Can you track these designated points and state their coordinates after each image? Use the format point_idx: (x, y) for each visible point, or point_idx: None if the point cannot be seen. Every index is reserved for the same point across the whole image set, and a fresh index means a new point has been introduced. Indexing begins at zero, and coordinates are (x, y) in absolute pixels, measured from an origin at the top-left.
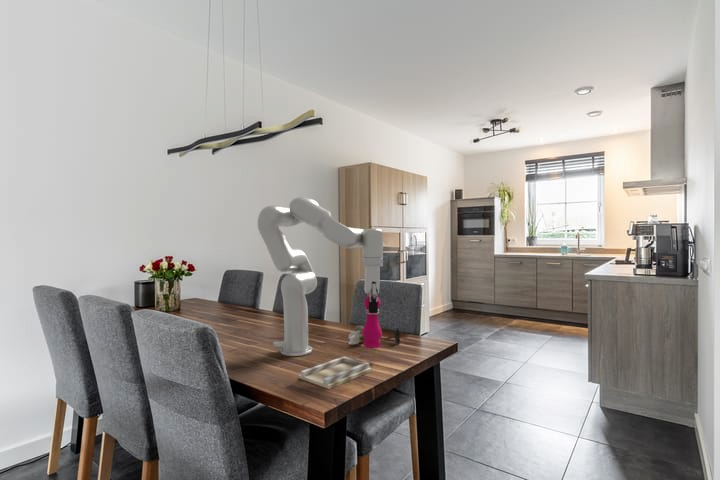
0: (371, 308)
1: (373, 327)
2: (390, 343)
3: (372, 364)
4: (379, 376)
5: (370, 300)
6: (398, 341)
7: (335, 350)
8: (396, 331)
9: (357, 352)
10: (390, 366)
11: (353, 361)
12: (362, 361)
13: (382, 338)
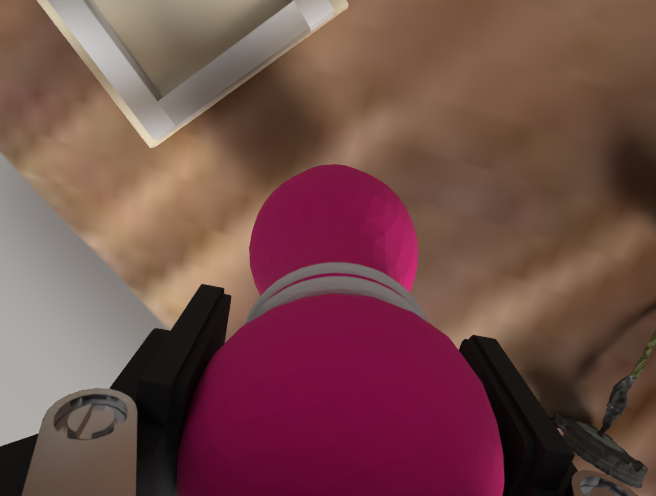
0: (144, 343)
1: (260, 269)
2: (586, 384)
3: (263, 182)
4: (70, 162)
5: (43, 424)
6: (555, 426)
7: (615, 21)
8: (594, 461)
9: (507, 158)
10: (208, 263)
11: (224, 53)
12: (194, 107)
13: (638, 364)
